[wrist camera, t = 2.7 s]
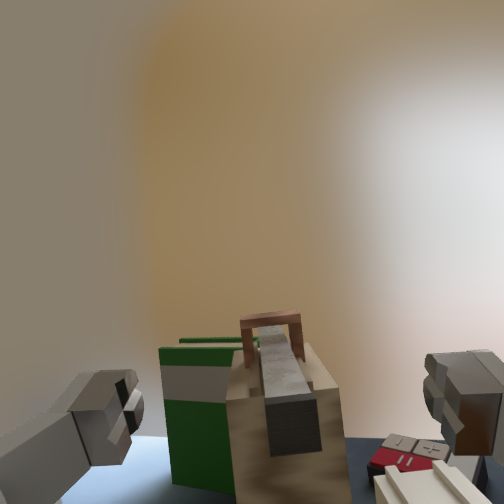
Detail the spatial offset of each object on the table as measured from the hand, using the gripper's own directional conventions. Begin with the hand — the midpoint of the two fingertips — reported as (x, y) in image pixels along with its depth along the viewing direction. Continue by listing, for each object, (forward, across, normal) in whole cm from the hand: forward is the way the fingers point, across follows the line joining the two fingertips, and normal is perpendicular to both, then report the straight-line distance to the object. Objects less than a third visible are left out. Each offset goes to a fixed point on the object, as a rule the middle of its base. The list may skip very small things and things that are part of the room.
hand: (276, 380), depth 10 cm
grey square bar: (+19, +1, +16) cm, 25 cm away
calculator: (+33, -20, +49) cm, 62 cm away
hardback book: (+35, +13, +50) cm, 63 cm away
